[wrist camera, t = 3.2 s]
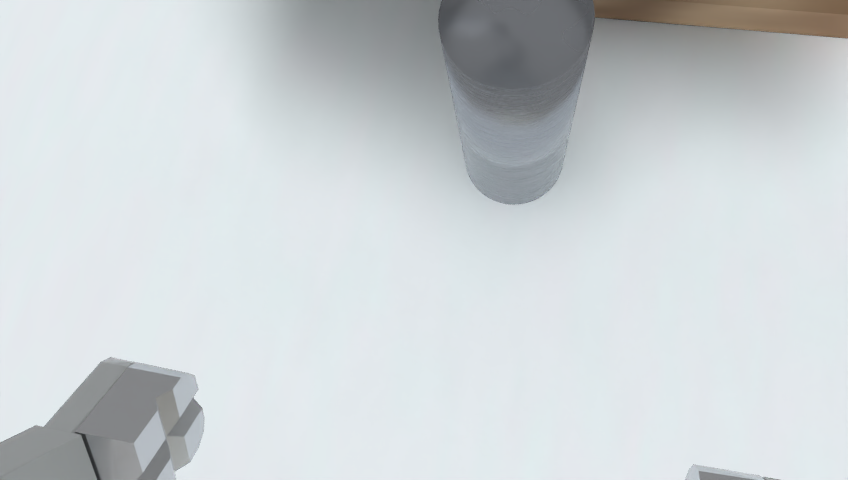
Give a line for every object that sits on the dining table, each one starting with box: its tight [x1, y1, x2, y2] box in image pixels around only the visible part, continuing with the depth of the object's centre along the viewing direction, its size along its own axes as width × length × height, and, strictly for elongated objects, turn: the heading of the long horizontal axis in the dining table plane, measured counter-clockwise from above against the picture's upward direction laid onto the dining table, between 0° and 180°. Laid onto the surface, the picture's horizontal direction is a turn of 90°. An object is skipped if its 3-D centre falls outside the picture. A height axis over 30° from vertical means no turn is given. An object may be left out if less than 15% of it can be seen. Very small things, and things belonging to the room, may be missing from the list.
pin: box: [438, 0, 595, 204], centre depth 21 cm, size 4×4×10 cm
